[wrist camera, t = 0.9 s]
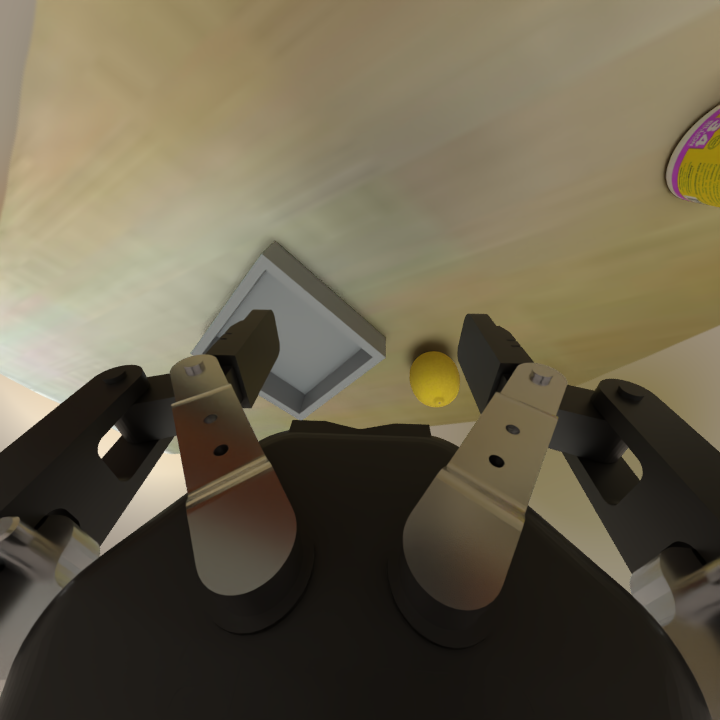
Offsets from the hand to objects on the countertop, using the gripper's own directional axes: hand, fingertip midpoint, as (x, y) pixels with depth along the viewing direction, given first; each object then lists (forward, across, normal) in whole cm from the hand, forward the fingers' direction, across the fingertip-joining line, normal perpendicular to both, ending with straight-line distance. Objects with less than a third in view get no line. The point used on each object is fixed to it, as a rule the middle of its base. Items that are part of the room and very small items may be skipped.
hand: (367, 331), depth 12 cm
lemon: (+20, -8, +14) cm, 25 cm away
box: (+20, +10, +12) cm, 25 cm away
